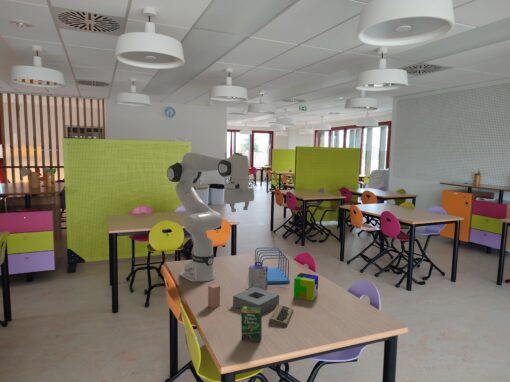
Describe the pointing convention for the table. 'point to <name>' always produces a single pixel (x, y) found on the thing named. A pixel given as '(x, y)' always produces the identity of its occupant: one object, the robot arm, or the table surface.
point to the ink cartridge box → (258, 276)
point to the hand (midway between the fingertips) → (239, 211)
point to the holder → (256, 299)
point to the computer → (281, 315)
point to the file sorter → (275, 273)
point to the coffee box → (251, 324)
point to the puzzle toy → (306, 286)
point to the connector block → (213, 295)
